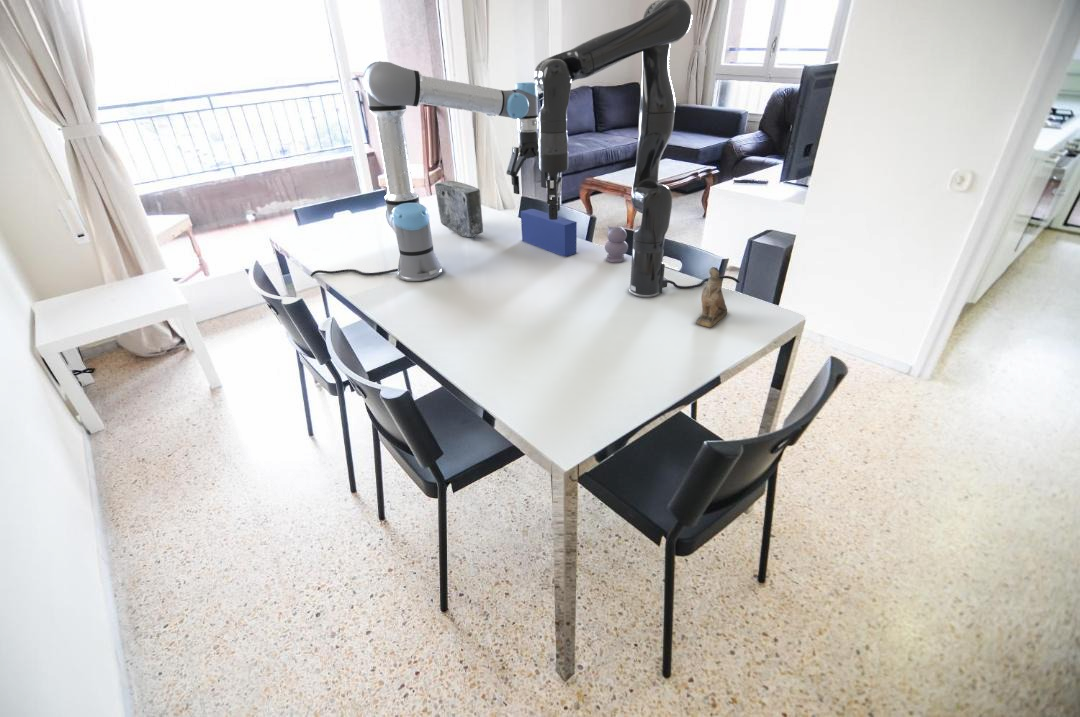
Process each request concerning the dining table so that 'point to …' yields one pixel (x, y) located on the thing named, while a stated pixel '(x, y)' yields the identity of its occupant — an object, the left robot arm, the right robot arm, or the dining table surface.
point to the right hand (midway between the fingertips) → (554, 214)
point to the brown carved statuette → (712, 301)
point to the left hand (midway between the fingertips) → (530, 190)
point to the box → (549, 232)
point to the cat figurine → (616, 244)
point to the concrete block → (460, 207)
